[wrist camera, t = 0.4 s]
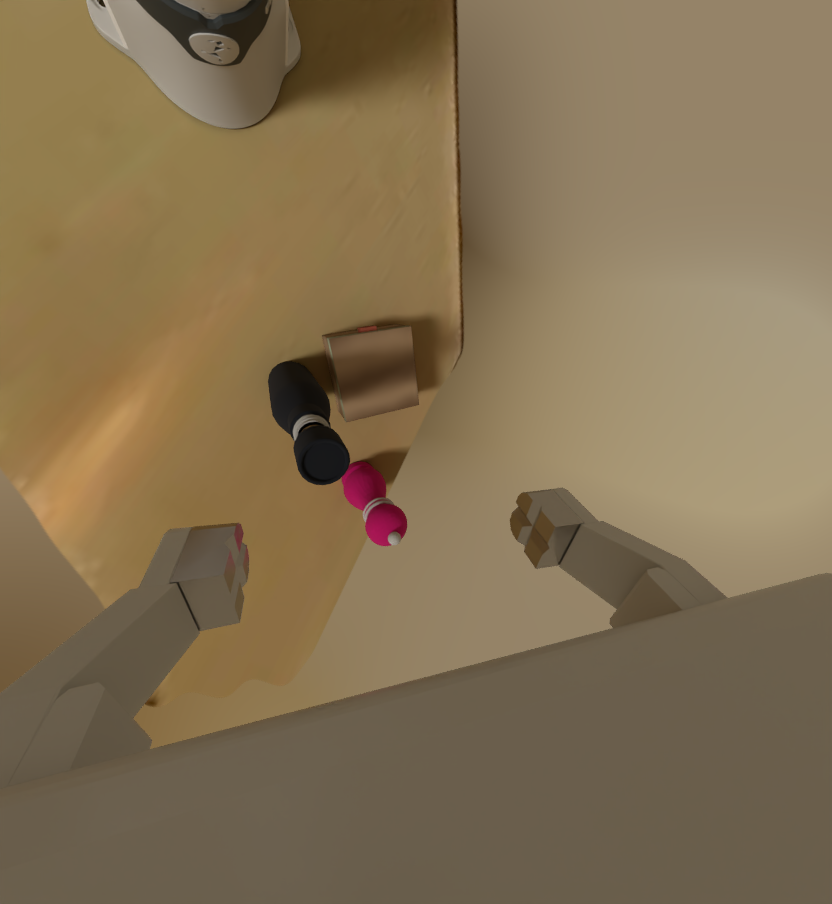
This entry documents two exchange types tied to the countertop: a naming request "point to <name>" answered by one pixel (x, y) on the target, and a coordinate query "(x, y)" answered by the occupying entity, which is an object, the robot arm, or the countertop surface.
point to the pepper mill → (374, 504)
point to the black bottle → (307, 423)
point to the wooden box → (372, 370)
